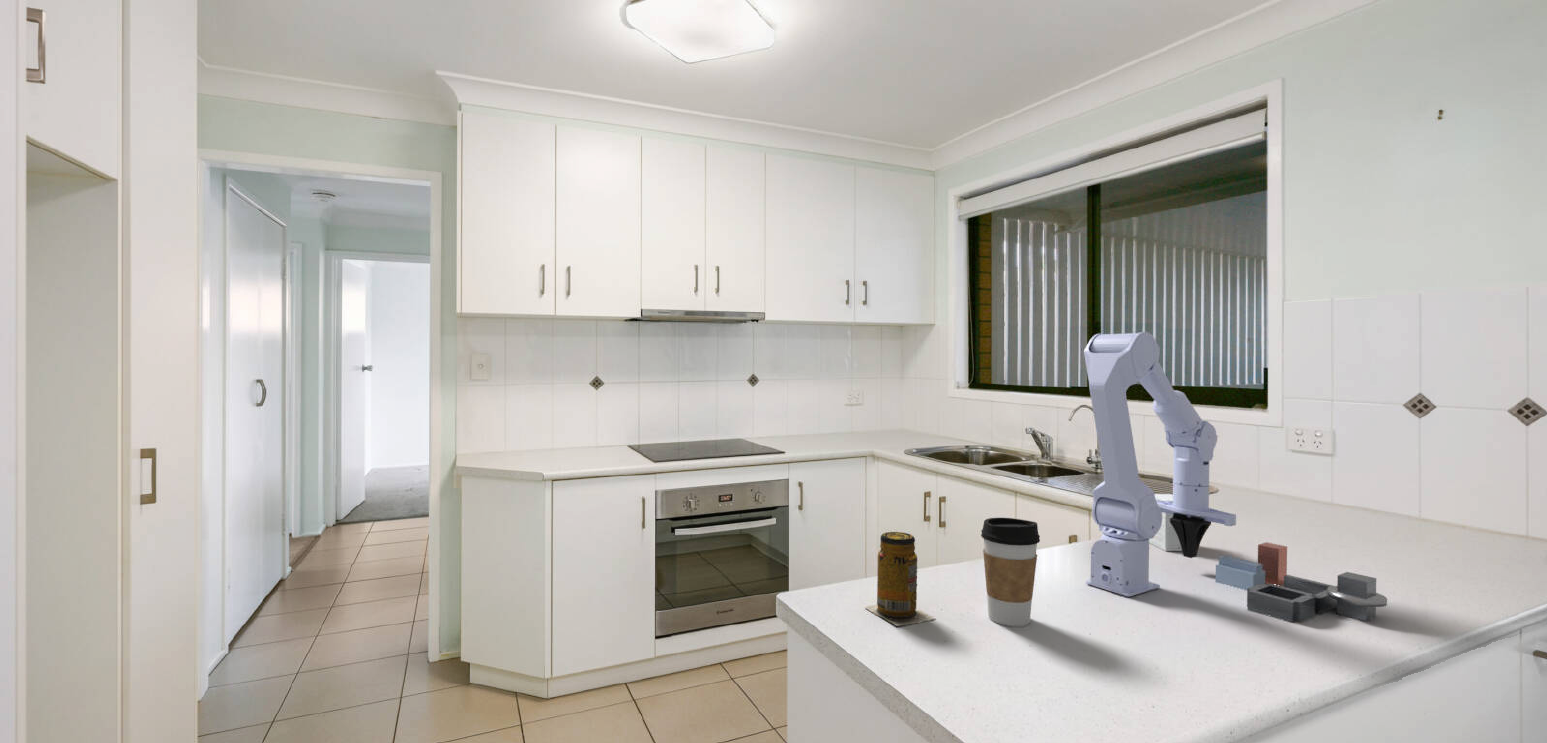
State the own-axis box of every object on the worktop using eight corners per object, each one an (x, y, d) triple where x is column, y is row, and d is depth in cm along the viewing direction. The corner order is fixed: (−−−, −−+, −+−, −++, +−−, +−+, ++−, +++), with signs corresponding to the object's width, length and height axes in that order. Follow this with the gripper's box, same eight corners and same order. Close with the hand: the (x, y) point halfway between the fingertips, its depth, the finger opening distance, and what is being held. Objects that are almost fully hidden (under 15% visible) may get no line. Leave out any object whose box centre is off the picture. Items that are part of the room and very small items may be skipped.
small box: (1192, 552, 138) (1193, 501, 138) (1165, 551, 138) (1166, 501, 138) (1170, 541, 146) (1171, 493, 146) (1144, 541, 146) (1145, 493, 146)
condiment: (901, 601, 109) (902, 528, 109) (936, 620, 101) (936, 541, 101) (864, 608, 106) (864, 533, 105) (896, 628, 98) (897, 546, 98)
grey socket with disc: (1352, 640, 95) (1353, 597, 95) (1238, 607, 107) (1239, 569, 107) (1397, 617, 103) (1398, 578, 103) (1286, 589, 116) (1287, 554, 116)
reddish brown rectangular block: (1278, 586, 117) (1278, 549, 117) (1257, 580, 120) (1258, 544, 120) (1286, 583, 119) (1287, 546, 119) (1265, 577, 122) (1266, 542, 122)
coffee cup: (1010, 634, 96) (1011, 530, 96) (968, 614, 103) (969, 517, 103) (1051, 624, 100) (1052, 523, 100) (1007, 605, 107) (1008, 512, 107)
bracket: (1253, 593, 114) (1253, 567, 114) (1215, 582, 119) (1215, 557, 119) (1265, 589, 116) (1265, 563, 116) (1227, 579, 121) (1227, 554, 121)
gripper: (1245, 488, 121) (1243, 563, 121) (1163, 476, 133) (1162, 544, 133) (1225, 492, 117) (1223, 569, 117) (1142, 479, 129) (1142, 549, 130)
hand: (1189, 556), depth 125 cm, fingers closed
